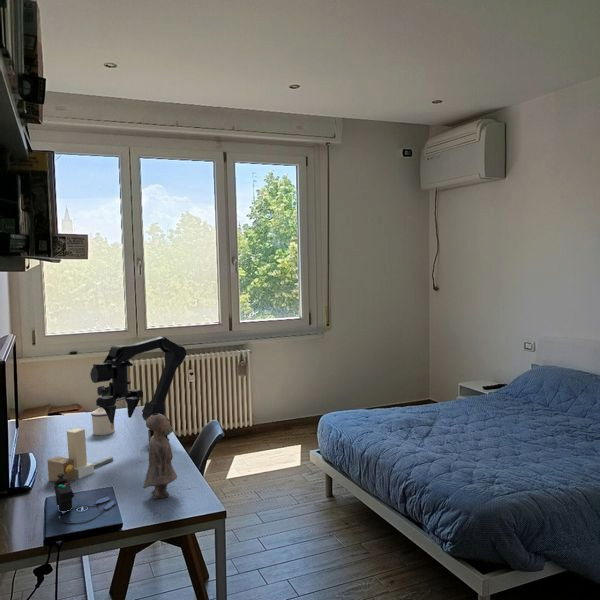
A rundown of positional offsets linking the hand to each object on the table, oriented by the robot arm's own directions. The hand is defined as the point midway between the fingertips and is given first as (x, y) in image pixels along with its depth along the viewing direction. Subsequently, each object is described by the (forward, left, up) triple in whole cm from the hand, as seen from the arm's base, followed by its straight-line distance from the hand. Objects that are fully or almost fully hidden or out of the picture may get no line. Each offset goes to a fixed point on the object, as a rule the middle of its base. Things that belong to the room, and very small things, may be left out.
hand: (120, 420), depth 209 cm
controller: (+30, +42, -12) cm, 53 cm away
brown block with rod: (+16, +12, -12) cm, 24 cm away
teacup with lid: (-1, -31, -12) cm, 34 cm away
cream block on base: (+19, +13, -12) cm, 26 cm away
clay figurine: (+4, +49, -12) cm, 50 cm away
